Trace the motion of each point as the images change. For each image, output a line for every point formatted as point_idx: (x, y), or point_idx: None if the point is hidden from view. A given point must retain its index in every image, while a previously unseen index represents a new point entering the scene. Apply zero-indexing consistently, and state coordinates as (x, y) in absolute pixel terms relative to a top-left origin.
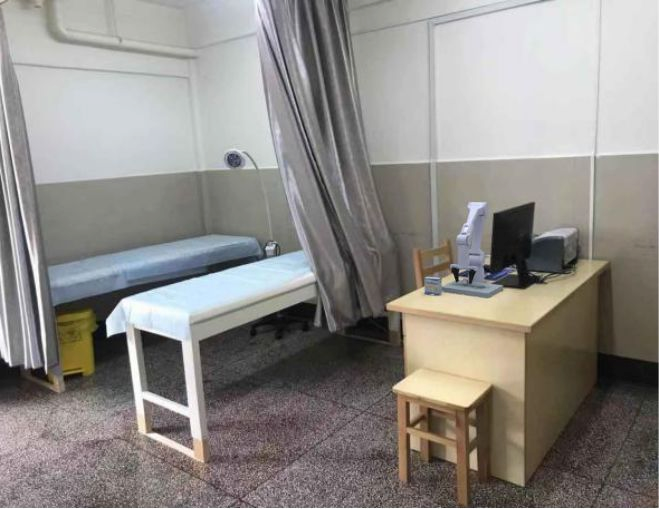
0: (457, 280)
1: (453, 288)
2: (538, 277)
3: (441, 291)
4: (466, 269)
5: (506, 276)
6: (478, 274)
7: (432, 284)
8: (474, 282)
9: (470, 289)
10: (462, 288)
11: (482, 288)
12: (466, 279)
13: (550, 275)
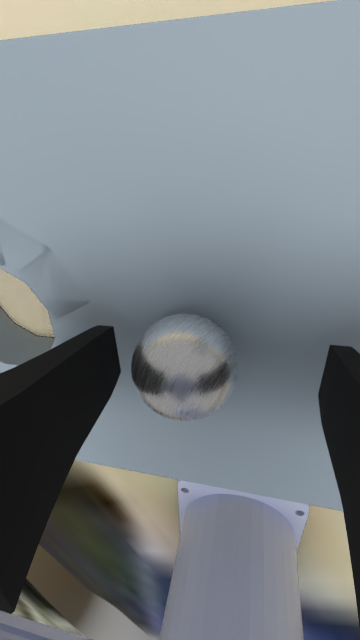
0: (330, 385)
1: (287, 20)
2: (31, 597)
3: None
4: (32, 627)
5: (145, 613)
6: (174, 591)
7: None
8: (168, 461)
9: (4, 147)
10: (133, 138)
11: (36, 350)
12: (146, 385)
13: (21, 612)
